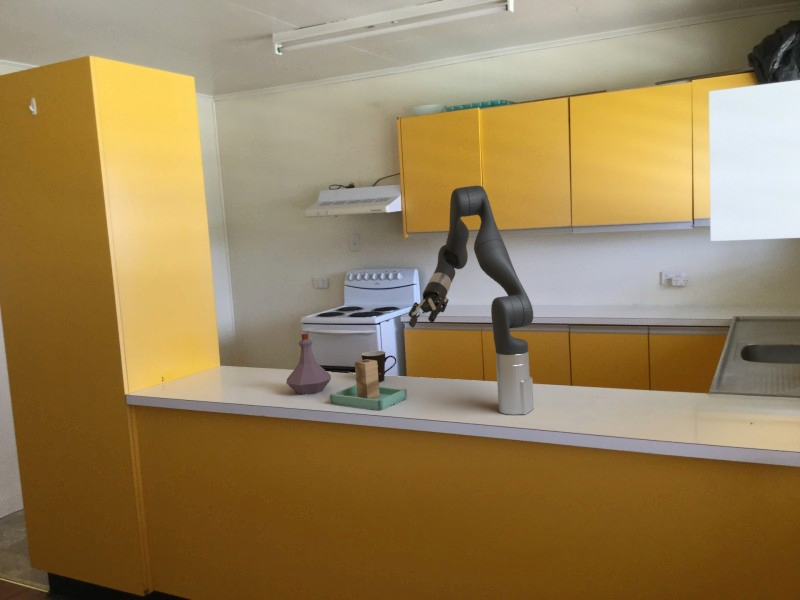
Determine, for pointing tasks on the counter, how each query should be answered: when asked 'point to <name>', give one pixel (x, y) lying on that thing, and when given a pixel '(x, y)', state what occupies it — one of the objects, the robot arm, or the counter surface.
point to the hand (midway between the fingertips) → (420, 323)
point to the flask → (308, 371)
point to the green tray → (350, 398)
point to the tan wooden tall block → (367, 379)
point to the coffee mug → (378, 361)
